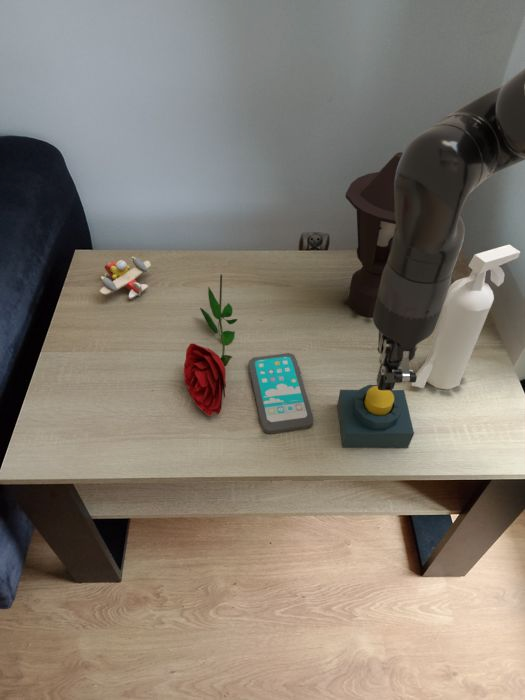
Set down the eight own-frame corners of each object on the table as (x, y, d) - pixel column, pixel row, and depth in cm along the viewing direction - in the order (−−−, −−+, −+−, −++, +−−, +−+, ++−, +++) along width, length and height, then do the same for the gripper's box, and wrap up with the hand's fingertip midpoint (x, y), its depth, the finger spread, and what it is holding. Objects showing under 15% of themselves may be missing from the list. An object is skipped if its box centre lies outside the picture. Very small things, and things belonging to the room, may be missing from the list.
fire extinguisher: (394, 374, 87) (432, 256, 68) (450, 351, 90) (501, 233, 72) (419, 403, 83) (467, 286, 64) (477, 378, 86) (538, 260, 68)
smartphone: (262, 431, 77) (246, 357, 87) (262, 434, 78) (246, 361, 88) (316, 423, 78) (295, 351, 88) (316, 426, 79) (294, 355, 89)
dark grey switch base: (398, 404, 82) (407, 381, 78) (408, 448, 77) (417, 426, 73) (337, 404, 82) (341, 381, 78) (342, 447, 77) (347, 425, 72)
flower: (202, 248, 91) (194, 390, 73) (250, 265, 94) (252, 405, 76) (184, 280, 97) (171, 418, 79) (228, 295, 101) (226, 431, 83)
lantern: (418, 326, 94) (468, 177, 72) (340, 334, 93) (367, 184, 70) (393, 275, 104) (431, 129, 82) (322, 281, 103) (341, 135, 80)
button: (389, 393, 77) (391, 385, 75) (393, 416, 74) (396, 407, 73) (362, 393, 77) (364, 385, 75) (366, 415, 74) (368, 407, 73)
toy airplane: (108, 274, 103) (100, 248, 98) (153, 273, 104) (148, 247, 99) (101, 305, 97) (93, 279, 92) (149, 303, 98) (143, 278, 93)
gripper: (458, 335, 55) (420, 425, 68) (430, 258, 64) (402, 351, 76) (388, 335, 55) (364, 425, 68) (370, 258, 64) (352, 351, 76)
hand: (384, 385), depth 72 cm, fingers closed
